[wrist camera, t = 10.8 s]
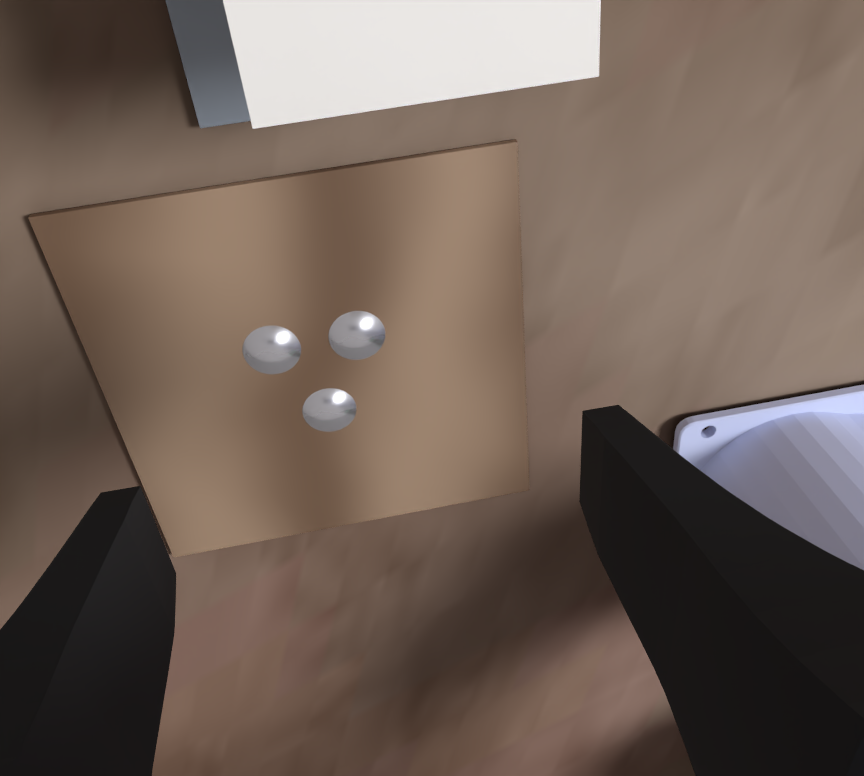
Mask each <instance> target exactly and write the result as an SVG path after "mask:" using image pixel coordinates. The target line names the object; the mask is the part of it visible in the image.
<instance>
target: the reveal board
mask: <svg viewBox="0 0 864 776" xmlns="http://www.w3.org/2000/svg"><path fill="white" fill-rule="evenodd" d="M28 219H29V221H30V223H31V226H32V228H33V230H34V233H35V235H36V237H37V240H38V242H39V244H40V247H41V249H42V251H43V254H44V256H45V258H46V261H47V263H48V265H49V268H50V270H51V272H52V275H53V277H54V279H55V282H56V284H57V286H58V289H59V291H60V293H61V296H62V298H63V300H64V303H65V305H66V307H67V310H68V312H69V314H70V317H71V319H72V321H73V324H74V326H75V328H76V331H77V333H78V335H79V338H80V340H81V342H82V345H83V347H84V349H85V352H86V354H87V356H88V359H89V361H90V363H91V366H92V368H93V370H94V373H95V375H96V377H97V380H98V382H99V384H100V387H101V389H102V391H103V394H104V396H105V398H106V401H107V403H108V405H109V408H110V410H111V413H112V415H113V417H114V420H115V422H116V424H117V427H118V429H119V431H120V434H121V436H122V438H123V441H124V443H125V445H126V448H127V450H128V452H129V455H130V457H131V459H132V462H133V464H134V466H135V469H136V471H137V473H138V476H139V478H140V480H141V483H142V485H143V487H144V490H145V492H146V494H147V497H148V499H149V501H150V504H151V506H152V508H153V511H154V513H155V515H156V518H157V520H158V522H159V525H160V527H161V529H162V532H163V534H164V536H165V539H166V541H167V543H168V546H169V548H170V550H171V553H172V555H173V557H179V556H184V555H189V554H195V553H200V552H205V551H211V550H216V549H221V548H226V547H232V546H237V545H242V544H248V543H253V542H258V541H263V540H269V539H274V538H279V537H285V536H290V535H295V534H301V533H306V532H311V531H316V530H322V529H327V528H332V527H338V526H343V525H348V524H353V523H359V522H364V521H369V520H375V519H380V518H385V517H390V516H396V515H401V514H406V513H412V512H417V511H422V510H428V509H433V508H438V507H443V506H449V505H454V504H459V503H465V502H470V501H475V500H480V499H486V498H491V497H496V496H502V495H507V494H512V493H517V492H523V491H528V490H529V461H528V432H527V403H526V374H525V344H524V315H523V286H522V257H521V227H520V198H519V169H518V142H517V140H516V139H514V140H508V141H501V142H495V143H489V144H482V145H476V146H469V147H463V148H456V149H450V150H443V151H437V152H430V153H424V154H417V155H411V156H404V157H398V158H392V159H385V160H379V161H372V162H366V163H359V164H353V165H346V166H340V167H333V168H327V169H320V170H314V171H308V172H301V173H295V174H288V175H282V176H275V177H269V178H262V179H256V180H249V181H243V182H236V183H230V184H223V185H217V186H211V187H204V188H198V189H191V190H185V191H178V192H172V193H165V194H159V195H152V196H146V197H139V198H133V199H127V200H120V201H114V202H107V203H101V204H94V205H88V206H81V207H75V208H68V209H62V210H55V211H49V212H43V213H36V214H30V215H29V217H28Z"/></svg>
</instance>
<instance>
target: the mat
mask: <svg viewBox="0 0 864 776" xmlns="http://www.w3.org/2000/svg"><path fill="white" fill-rule="evenodd" d="M165 1H166V5H167V8H168V12H169V16H170V19H171V23H172V27H173V30H174V34H175V38H176V41H177V45H178V49H179V52H180V56H181V60H182V64H183V67H184V71H185V75H186V78H187V82H188V86H189V89H190V93H191V97H192V100H193V104H194V108H195V111H196V115H197V119H198V123H199V126H200V128H205V127H212V126H219V125H225V124H232V123H239V122H246V121H251V119H250V115H249V110H248V106H247V102H246V98H245V93H244V89H243V85H242V80H241V76H240V72H239V68H238V63H237V59H236V55H235V50H234V46H233V42H232V38H231V33H230V29H229V25H228V20H227V16H226V12H225V8H224V3H223V0H165Z"/></svg>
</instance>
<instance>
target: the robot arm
mask: <svg viewBox="0 0 864 776" xmlns="http://www.w3.org/2000/svg"><path fill="white" fill-rule="evenodd" d="M707 426H709V427H708V428H707V429H706V430H703V429H704V428H705V427H707ZM702 430H703V431H702ZM580 504H581V507H582V510H583V513H584V516H585V519H586V522H587V525H588V528H589V531H590V533H591V536H592V539H593V542H594V545H595V547H596V550H597V553H598V555H599V557H600V560H601V562H602V564H603V566H604V568H605V570H606V572H607V574H608V576H609V578H610V580H611V582H612V584H613V586H614V588H615V590H616V592H617V594H618V596H619V598H620V601H621V603H622V605H623V607H624V609H625V611H626V613H627V615H628V617H629V619H630V621H631V623H632V625H633V627H634V629H635V631H636V633H637V635H638V637H639V639H640V641H641V643H642V645H643V647H644V649H645V651H646V653H647V655H648V657H649V659H650V661H651V663H652V665H653V667H654V669H655V671H656V674H657V676H658V678H659V680H660V683H661V685H662V687H663V689H664V692H665V694H666V697H667V699H668V702H669V705H670V707H671V710H672V712H673V715H674V718H675V720H676V723H677V726H678V728H679V731H680V734H681V736H682V739H683V742H684V744H685V747H686V750H687V753H688V755H689V758H690V761H691V764H692V767H693V769H694V772H695V775H696V776H864V385H858V386H853V387H848V388H842V389H837V390H831V391H826V392H820V393H815V394H810V395H804V396H799V397H793V398H788V399H783V400H777V401H772V402H766V403H761V404H755V405H750V406H745V407H739V408H734V409H728V410H723V411H718V412H712V413H707V414H701V415H696V416H691V417H688V418H685V419H683V420H682V421H681V422H680V423H679V424H678V425H677V427H676V430H675V436H674V446H673V449H672V448H671V447H670V446H668V445H667V444H666V443H665V442H663V441H662V440H661V439H660V438H659V437H657V436H656V435H655V434H654V433H652V432H651V431H650V430H649V429H648V428H646V427H645V426H644V425H643V424H641V423H640V422H639V421H638V420H637V419H635V418H634V417H633V416H632V415H630V414H629V413H628V412H627V411H625V410H624V409H623V408H622V407H620V406H619V405H615V406H609V407H603V408H597V409H591V410H585V411H583V415H582V445H581V475H580ZM175 602H176V572H175V570H174V567H173V565H172V562H171V560H170V557H169V555H168V553H167V550H166V548H165V545H164V543H163V540H162V538H161V536H160V533H159V531H158V528H157V526H156V523H155V521H154V518H153V516H152V514H151V511H150V509H149V506H148V504H147V501H146V499H145V497H144V494H143V492H142V489H141V487H140V486H138V487H132V488H126V489H120V490H114V491H108V492H102V493H101V494H100V495H99V496H98V498H97V499H96V500H95V502H94V503H93V504H92V506H91V507H90V508H89V510H88V511H87V513H86V514H85V515H84V517H83V518H82V520H81V521H80V523H79V524H78V525H77V527H76V528H75V530H74V531H73V533H72V534H71V536H70V537H69V538H68V540H67V541H66V543H65V544H64V546H63V547H62V548H61V550H60V551H59V553H58V554H57V555H56V557H55V558H54V560H53V561H52V563H51V564H50V565H49V567H48V568H47V569H46V571H45V572H44V573H43V575H42V576H41V578H40V579H39V580H38V582H37V583H36V584H35V586H34V587H33V588H32V590H31V591H30V592H29V594H28V595H27V597H26V598H25V599H24V601H23V602H22V603H21V605H20V606H19V607H18V608H17V610H16V611H15V612H14V614H13V615H12V616H11V617H10V618H9V620H8V621H7V622H6V623H5V625H4V626H3V627H2V628H1V630H0V776H152V768H153V761H154V755H155V749H156V743H157V737H158V731H159V725H160V719H161V713H162V707H163V701H164V695H165V689H166V683H167V677H168V670H169V664H170V658H171V651H172V645H173V638H174V628H175Z"/></svg>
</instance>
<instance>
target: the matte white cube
mask: <svg viewBox="0 0 864 776" xmlns="http://www.w3.org/2000/svg"><path fill="white" fill-rule="evenodd" d="M223 3H224V8H225V12H226V16H227V20H228V25H229V29H230V33H231V38H232V42H233V46H234V50H235V55H236V59H237V63H238V68H239V72H240V76H241V80H242V85H243V89H244V93H245V98H246V102H247V106H248V110H249V115H250V119H251V123H252V128H253V129H255V128H262V127H268V126H275V125H282V124H288V123H295V122H301V121H308V120H315V119H321V118H328V117H334V116H341V115H348V114H354V113H361V112H367V111H374V110H381V109H387V108H394V107H400V106H407V105H414V104H420V103H427V102H433V101H440V100H447V99H453V98H460V97H466V96H473V95H480V94H486V93H493V92H499V91H506V90H513V89H519V88H526V87H533V86H539V85H546V84H552V83H559V82H566V81H572V80H579V79H585V78H592V77H599V48H600V7H601V0H223Z"/></svg>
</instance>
